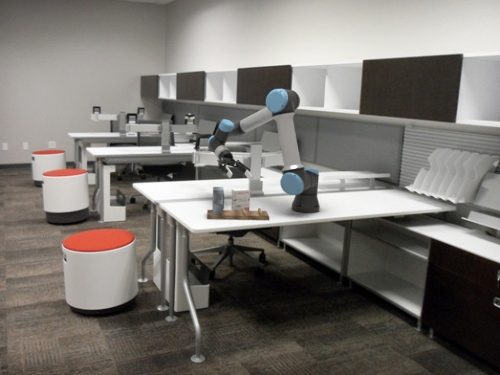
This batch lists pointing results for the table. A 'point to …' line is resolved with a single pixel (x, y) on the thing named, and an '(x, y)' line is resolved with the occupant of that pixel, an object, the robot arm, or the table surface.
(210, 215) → the wooden desk organizer
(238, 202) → the ink box
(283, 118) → the robot arm
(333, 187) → the table surface
